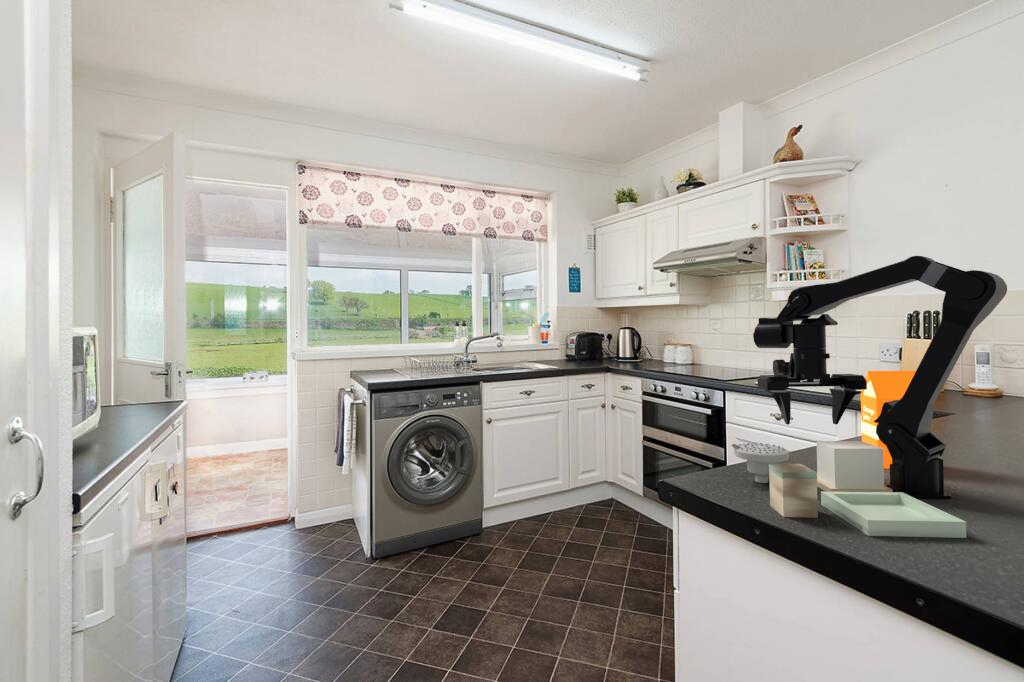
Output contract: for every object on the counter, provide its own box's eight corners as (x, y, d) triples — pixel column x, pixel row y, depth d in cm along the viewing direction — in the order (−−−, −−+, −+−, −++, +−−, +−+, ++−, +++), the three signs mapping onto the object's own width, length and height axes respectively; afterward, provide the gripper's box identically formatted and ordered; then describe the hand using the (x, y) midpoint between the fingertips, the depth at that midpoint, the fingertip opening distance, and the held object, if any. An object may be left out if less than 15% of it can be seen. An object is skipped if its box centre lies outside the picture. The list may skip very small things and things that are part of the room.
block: (802, 506, 78) (801, 464, 78) (818, 517, 73) (816, 472, 73) (769, 505, 78) (768, 463, 78) (783, 517, 73) (782, 472, 73)
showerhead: (725, 438, 97) (778, 439, 95) (726, 473, 97) (779, 475, 95) (737, 449, 88) (796, 450, 86) (738, 487, 88) (797, 489, 86)
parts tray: (902, 505, 77) (902, 492, 77) (966, 537, 64) (966, 521, 64) (821, 504, 78) (820, 491, 78) (868, 535, 66) (867, 520, 66)
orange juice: (929, 470, 95) (926, 372, 95) (877, 468, 98) (875, 372, 98) (908, 460, 103) (906, 369, 103) (861, 458, 105) (859, 369, 105)
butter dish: (860, 479, 91) (859, 438, 91) (892, 495, 82) (891, 449, 82) (805, 479, 92) (804, 438, 92) (830, 494, 83) (829, 449, 83)
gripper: (836, 346, 104) (837, 417, 104) (747, 348, 106) (748, 417, 106) (868, 347, 93) (869, 426, 93) (767, 349, 95) (769, 427, 95)
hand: (811, 424), depth 97 cm, fingers open, 9 cm apart
